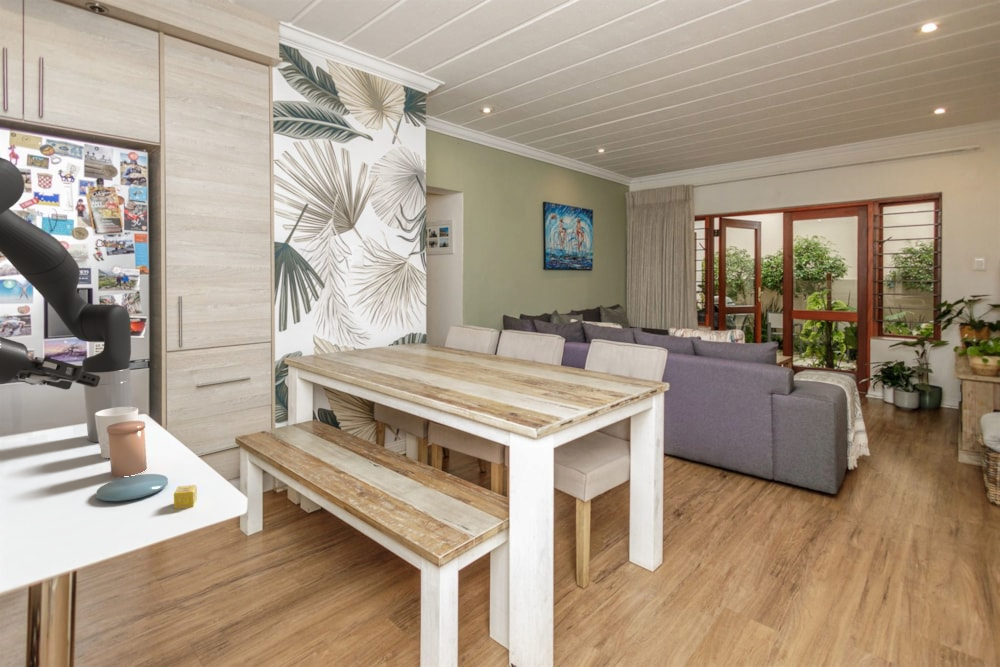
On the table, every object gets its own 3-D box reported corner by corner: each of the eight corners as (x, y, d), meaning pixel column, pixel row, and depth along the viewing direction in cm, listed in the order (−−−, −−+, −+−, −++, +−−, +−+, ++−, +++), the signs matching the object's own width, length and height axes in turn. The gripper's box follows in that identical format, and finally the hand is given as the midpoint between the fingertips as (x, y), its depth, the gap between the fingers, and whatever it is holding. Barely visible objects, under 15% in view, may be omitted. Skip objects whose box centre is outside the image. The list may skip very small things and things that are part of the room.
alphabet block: (197, 499, 94) (196, 484, 93) (193, 507, 91) (193, 491, 90) (178, 502, 93) (177, 486, 92) (174, 509, 90) (173, 493, 89)
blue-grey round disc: (96, 488, 97) (95, 482, 97) (164, 475, 104) (164, 469, 104) (97, 509, 89) (96, 503, 89) (171, 493, 96) (171, 487, 96)
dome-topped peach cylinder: (109, 470, 106) (106, 424, 105) (146, 463, 110) (143, 419, 109) (110, 480, 101) (107, 432, 100) (149, 473, 105) (146, 426, 104)
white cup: (118, 461, 111) (114, 417, 110) (88, 458, 113) (85, 414, 112) (149, 449, 119) (146, 408, 118) (121, 446, 120) (118, 405, 119)
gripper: (14, 330, 84) (114, 362, 98) (-32, 338, 89) (68, 367, 103) (-6, 373, 81) (100, 400, 95) (-53, 379, 86) (54, 403, 100)
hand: (83, 383), depth 99 cm, fingers open, 8 cm apart
